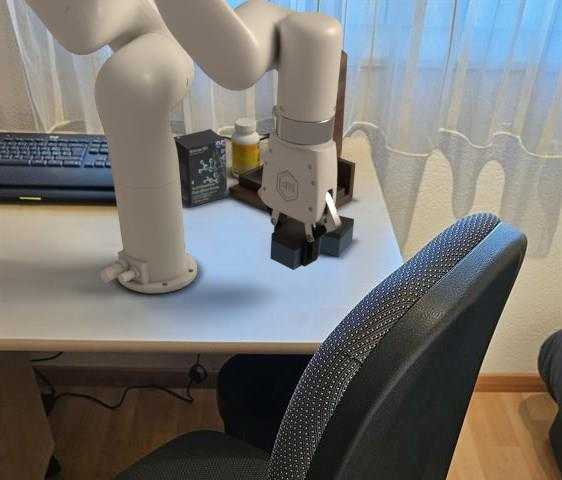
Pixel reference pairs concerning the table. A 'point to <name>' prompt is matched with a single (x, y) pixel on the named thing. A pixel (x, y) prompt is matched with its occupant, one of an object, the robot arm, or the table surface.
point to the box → (202, 167)
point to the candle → (340, 105)
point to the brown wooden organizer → (253, 182)
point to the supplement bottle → (245, 146)
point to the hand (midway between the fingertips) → (295, 254)
